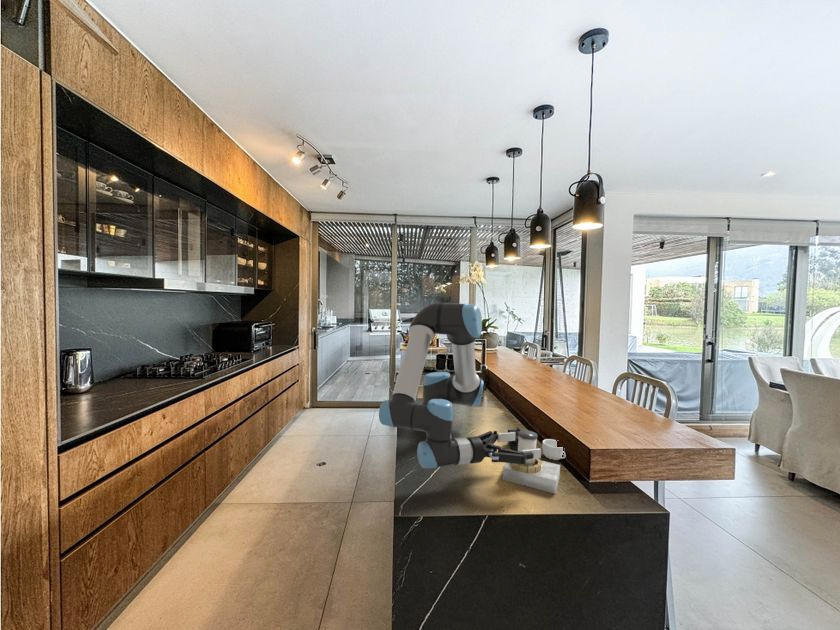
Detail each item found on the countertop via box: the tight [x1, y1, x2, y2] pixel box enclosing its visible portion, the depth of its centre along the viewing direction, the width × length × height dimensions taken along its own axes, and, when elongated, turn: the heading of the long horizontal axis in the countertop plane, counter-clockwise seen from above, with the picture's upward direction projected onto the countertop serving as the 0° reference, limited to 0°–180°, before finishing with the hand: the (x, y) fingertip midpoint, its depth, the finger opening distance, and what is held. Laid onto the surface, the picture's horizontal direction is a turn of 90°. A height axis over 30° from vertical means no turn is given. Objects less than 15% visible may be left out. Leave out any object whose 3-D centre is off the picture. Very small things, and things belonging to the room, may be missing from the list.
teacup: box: [541, 438, 567, 461], centre depth 133 cm, size 10×8×5 cm
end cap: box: [507, 427, 523, 451], centre depth 141 cm, size 10×7×7 cm
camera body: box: [501, 458, 561, 494], centre depth 117 cm, size 16×12×6 cm
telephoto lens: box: [518, 429, 538, 466], centre depth 118 cm, size 6×6×10 cm
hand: (526, 444), depth 118 cm, fingers open, 13 cm apart
